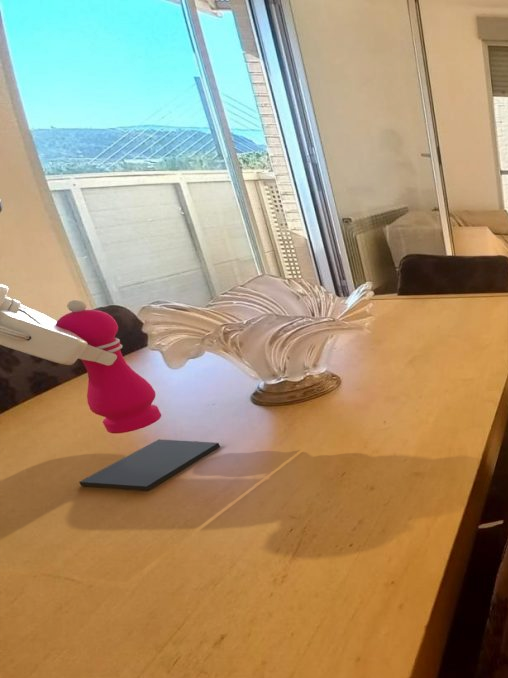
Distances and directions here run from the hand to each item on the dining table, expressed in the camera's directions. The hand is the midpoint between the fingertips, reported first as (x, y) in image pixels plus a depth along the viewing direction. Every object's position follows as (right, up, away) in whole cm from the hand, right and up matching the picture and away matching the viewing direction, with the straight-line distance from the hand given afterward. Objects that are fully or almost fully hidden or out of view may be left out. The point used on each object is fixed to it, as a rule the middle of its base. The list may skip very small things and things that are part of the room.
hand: (107, 355), depth 70 cm
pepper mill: (0, -11, +4) cm, 12 cm away
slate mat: (0, -18, +7) cm, 19 cm away
